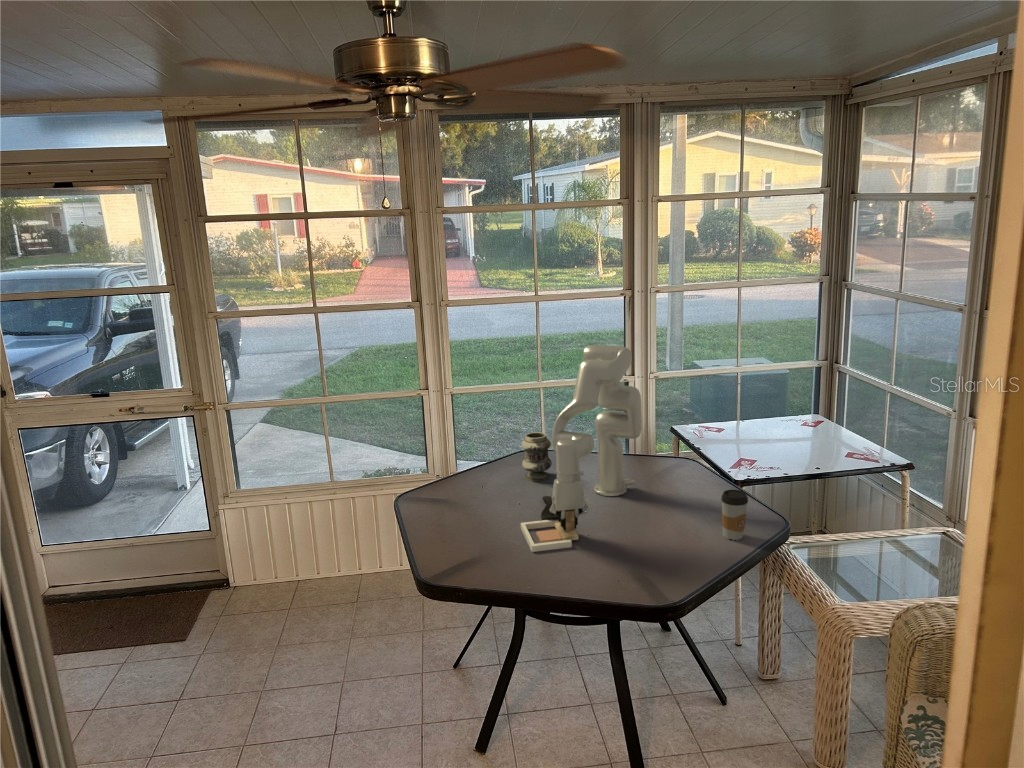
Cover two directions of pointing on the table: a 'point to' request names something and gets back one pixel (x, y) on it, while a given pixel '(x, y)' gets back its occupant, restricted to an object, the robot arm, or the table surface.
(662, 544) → the table surface
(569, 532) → the tan l-shaped bookend
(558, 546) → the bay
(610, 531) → the table surface
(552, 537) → the tile
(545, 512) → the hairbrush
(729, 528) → the coffee cup
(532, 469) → the carved stone vase
